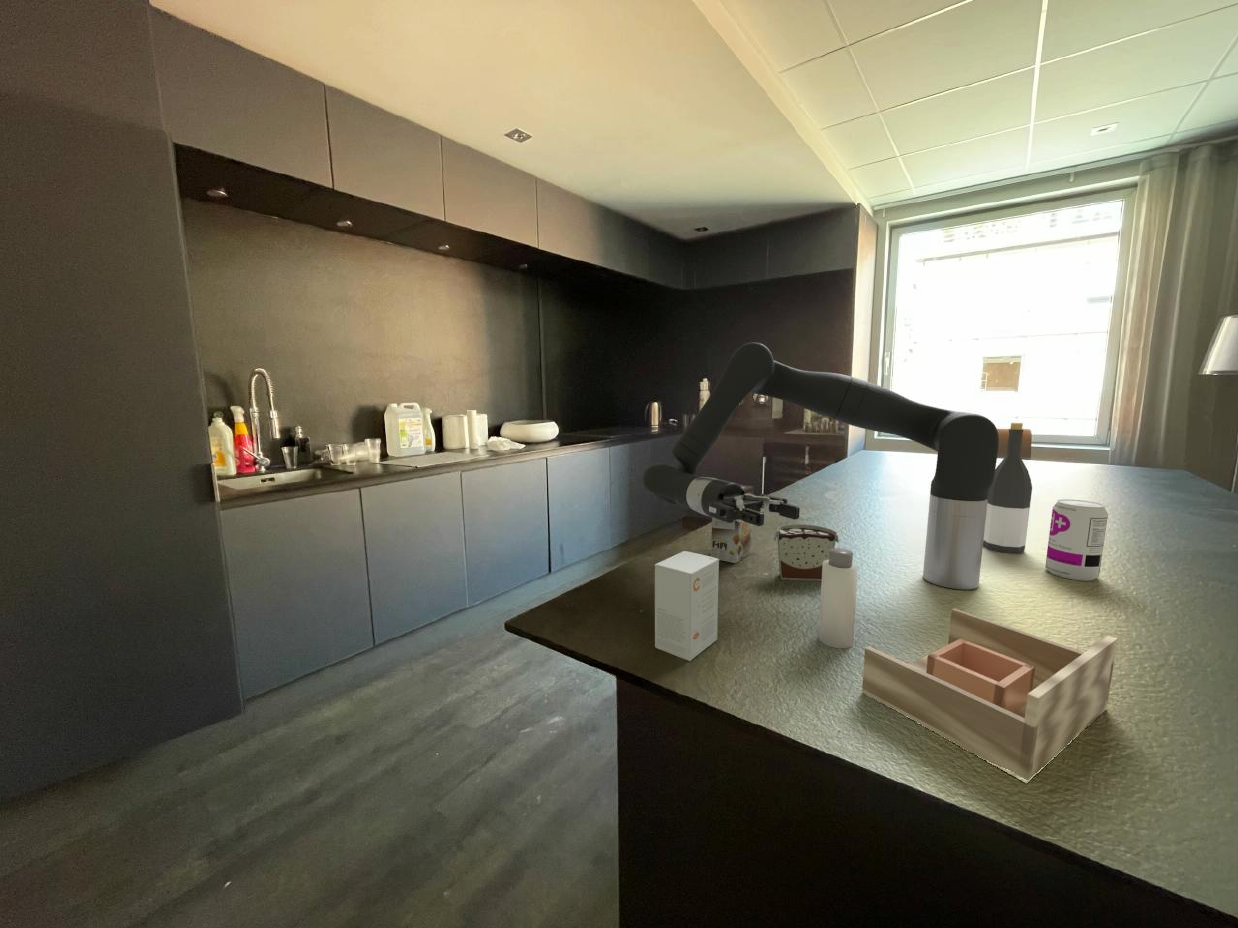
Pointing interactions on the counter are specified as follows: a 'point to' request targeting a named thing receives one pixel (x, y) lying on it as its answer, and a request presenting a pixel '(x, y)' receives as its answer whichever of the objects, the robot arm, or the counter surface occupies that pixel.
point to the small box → (686, 604)
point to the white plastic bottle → (838, 599)
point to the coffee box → (732, 537)
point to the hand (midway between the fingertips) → (780, 516)
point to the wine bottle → (1009, 500)
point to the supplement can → (1076, 539)
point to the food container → (803, 550)
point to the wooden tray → (997, 691)
